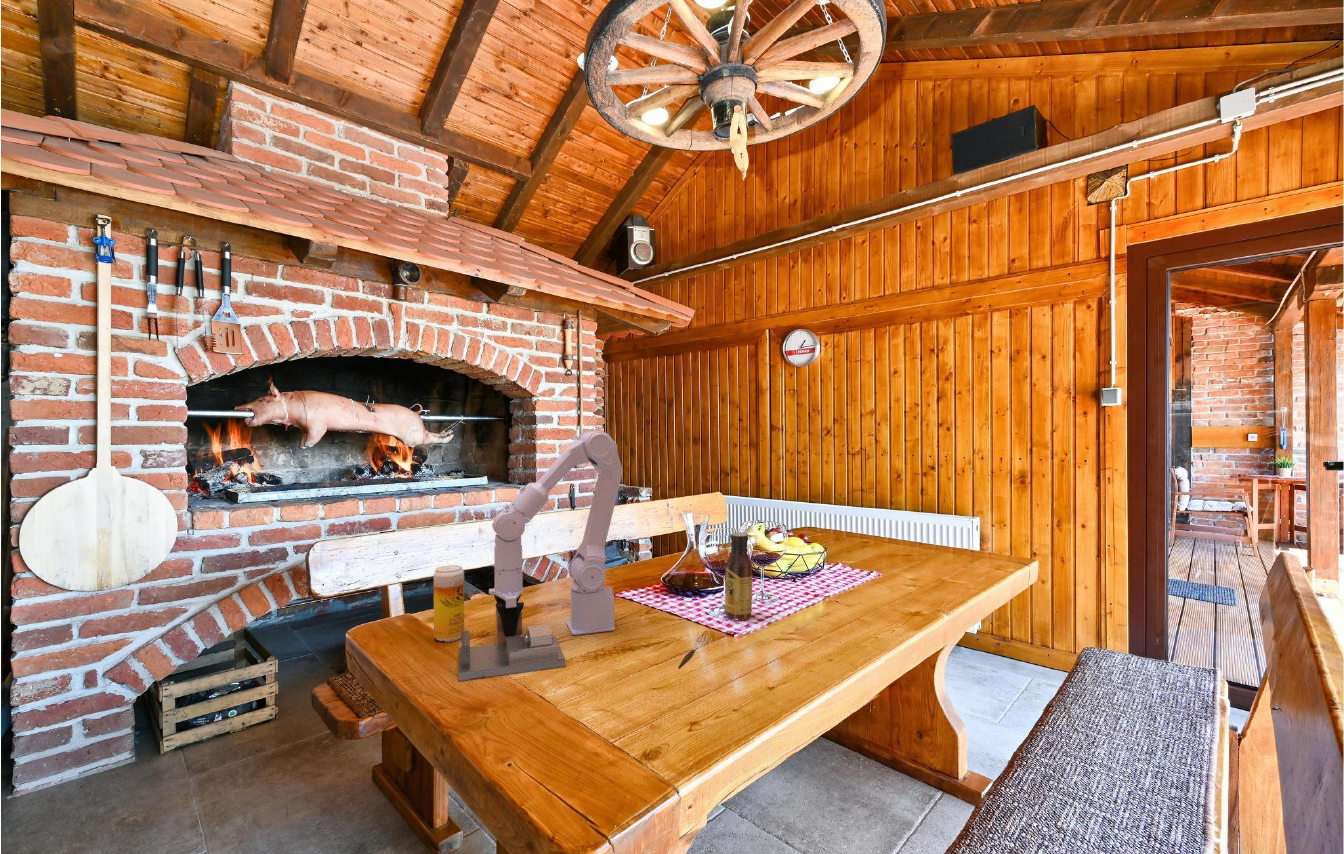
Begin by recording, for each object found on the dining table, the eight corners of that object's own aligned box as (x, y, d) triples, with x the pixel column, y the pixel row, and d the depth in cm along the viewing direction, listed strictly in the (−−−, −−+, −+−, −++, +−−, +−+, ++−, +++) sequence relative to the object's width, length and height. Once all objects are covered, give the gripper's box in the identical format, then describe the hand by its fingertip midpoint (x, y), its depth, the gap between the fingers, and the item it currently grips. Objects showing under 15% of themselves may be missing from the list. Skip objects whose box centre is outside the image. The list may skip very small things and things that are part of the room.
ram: (547, 641, 120) (547, 624, 120) (552, 652, 115) (551, 634, 115) (522, 644, 119) (522, 626, 119) (525, 655, 113) (525, 637, 113)
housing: (520, 633, 130) (519, 600, 130) (522, 641, 125) (521, 607, 125) (496, 636, 128) (495, 603, 128) (497, 644, 123) (497, 610, 123)
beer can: (454, 644, 124) (453, 572, 124) (428, 641, 125) (427, 570, 125) (469, 633, 130) (469, 565, 130) (444, 631, 131) (444, 563, 131)
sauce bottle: (723, 613, 143) (723, 530, 143) (748, 612, 144) (748, 530, 143) (728, 622, 137) (728, 536, 136) (754, 621, 137) (754, 535, 137)
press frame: (555, 643, 124) (555, 617, 124) (564, 666, 113) (564, 637, 113) (458, 655, 118) (458, 628, 118) (458, 681, 106) (458, 650, 106)
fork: (672, 669, 112) (672, 659, 112) (698, 639, 127) (697, 630, 127) (685, 671, 111) (685, 661, 111) (709, 641, 126) (709, 632, 126)
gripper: (487, 561, 132) (487, 622, 132) (490, 578, 118) (490, 645, 118) (520, 558, 134) (520, 618, 134) (526, 574, 121) (527, 641, 121)
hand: (508, 631), depth 127 cm, fingers closed on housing, 5 cm apart
